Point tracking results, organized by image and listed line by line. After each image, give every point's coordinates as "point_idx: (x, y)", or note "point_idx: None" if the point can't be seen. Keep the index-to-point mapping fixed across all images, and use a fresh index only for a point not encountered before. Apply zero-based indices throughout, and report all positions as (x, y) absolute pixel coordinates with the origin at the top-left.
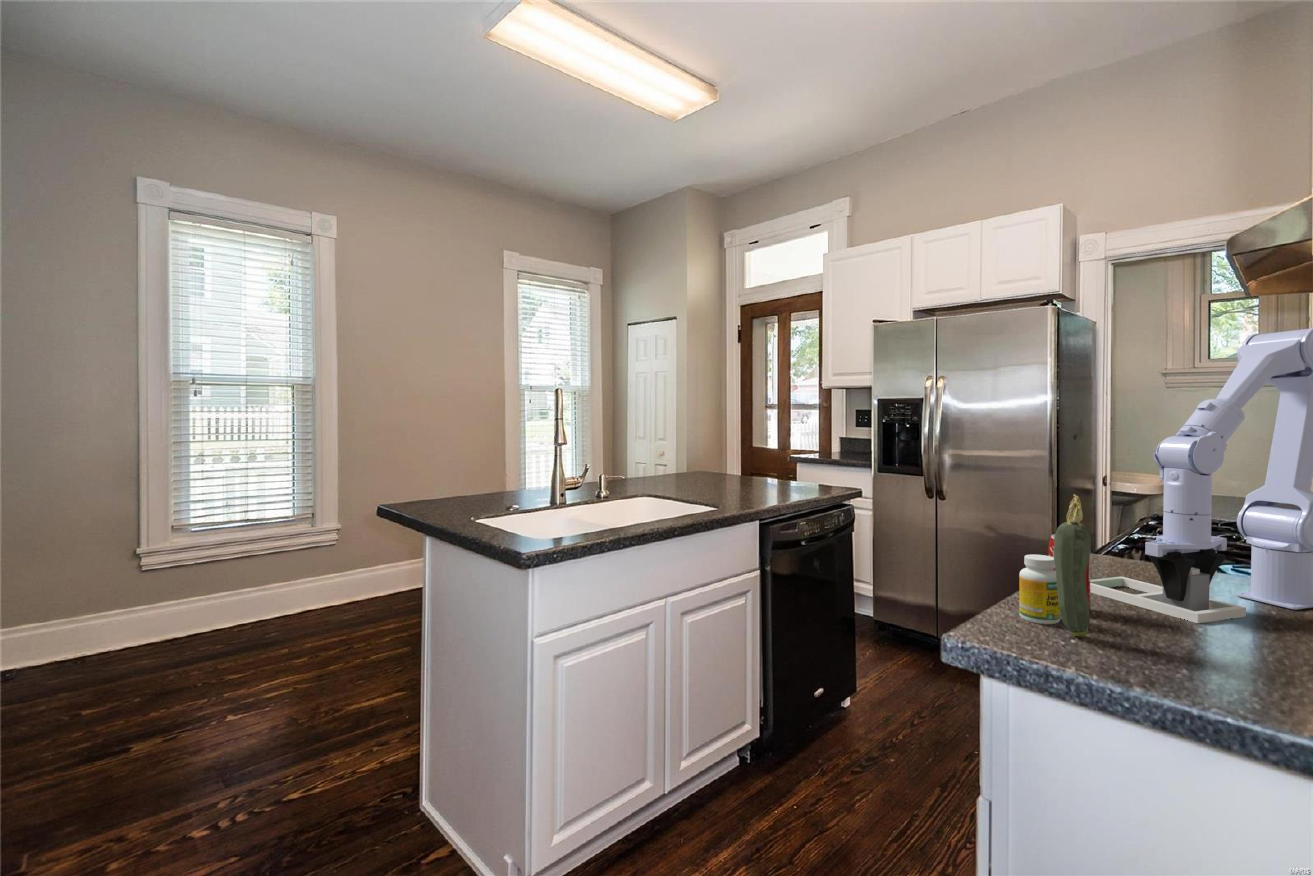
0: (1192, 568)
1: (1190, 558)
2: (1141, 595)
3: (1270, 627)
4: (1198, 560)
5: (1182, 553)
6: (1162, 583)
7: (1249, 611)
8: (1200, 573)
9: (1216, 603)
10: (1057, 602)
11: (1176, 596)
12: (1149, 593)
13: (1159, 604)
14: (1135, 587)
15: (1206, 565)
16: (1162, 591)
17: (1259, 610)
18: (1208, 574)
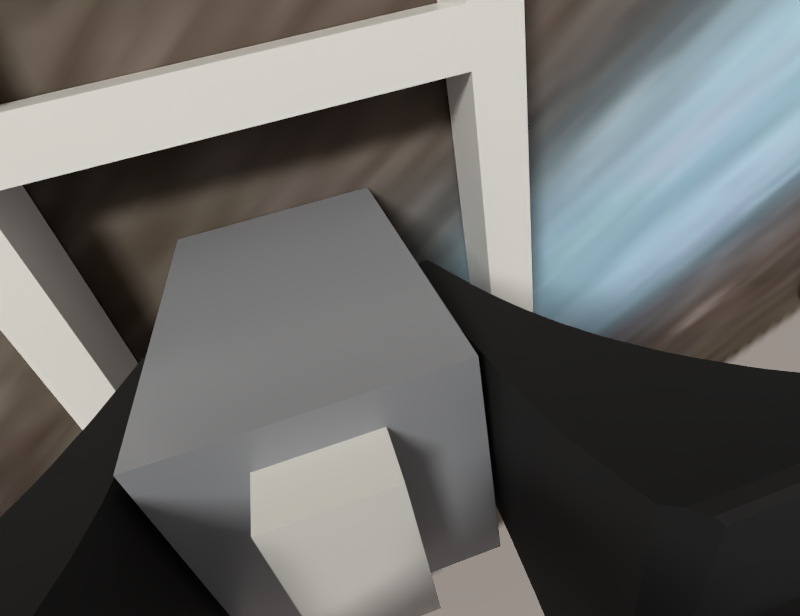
0: (392, 600)
1: (585, 560)
2: (12, 160)
3: None
4: (578, 609)
5: (634, 551)
6: (94, 420)
7: (623, 301)
8: (461, 526)
9: None
10: None
11: None
12: (156, 93)
13: (52, 384)
14: None
15: (550, 609)
16: (350, 38)
17: (682, 285)
18: (491, 547)
